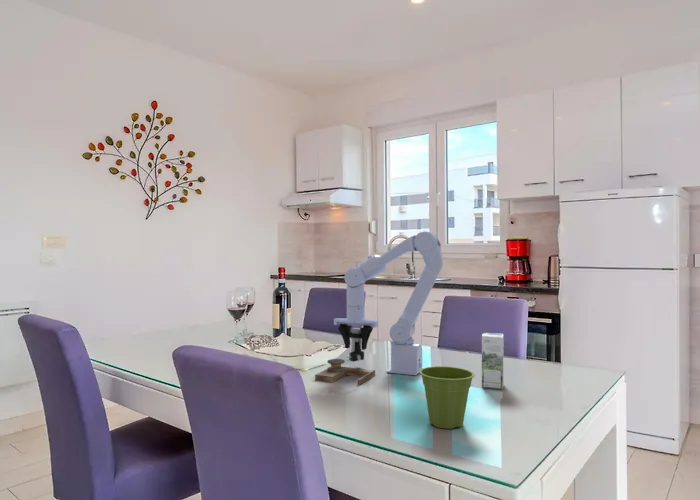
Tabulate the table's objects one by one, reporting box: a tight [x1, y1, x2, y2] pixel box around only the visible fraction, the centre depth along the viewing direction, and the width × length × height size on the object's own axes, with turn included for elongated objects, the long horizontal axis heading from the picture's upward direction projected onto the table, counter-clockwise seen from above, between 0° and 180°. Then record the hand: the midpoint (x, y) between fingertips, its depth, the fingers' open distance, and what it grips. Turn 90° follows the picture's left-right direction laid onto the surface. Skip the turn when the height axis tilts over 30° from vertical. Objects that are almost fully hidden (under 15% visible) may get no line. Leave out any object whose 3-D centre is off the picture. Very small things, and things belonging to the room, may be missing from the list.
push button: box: [346, 327, 365, 362], centre depth 159 cm, size 7×5×10 cm
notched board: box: [314, 358, 376, 386], centre depth 147 cm, size 14×12×4 cm
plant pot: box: [418, 365, 476, 430], centre depth 108 cm, size 12×12×11 cm
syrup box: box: [481, 332, 505, 390], centre depth 137 cm, size 6×6×14 cm
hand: (355, 348), depth 159 cm, fingers closed on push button, 5 cm apart
